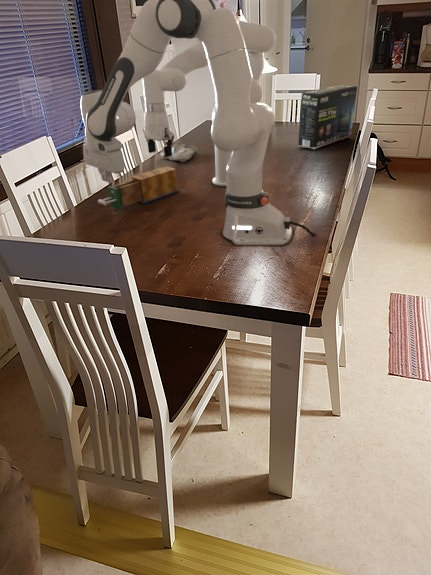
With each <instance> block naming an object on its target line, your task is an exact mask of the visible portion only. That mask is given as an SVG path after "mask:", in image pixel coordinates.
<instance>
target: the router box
mask: <svg viewBox="0 0 431 575" xmlns="http://www.w3.org/2000/svg"><path fill="white" fill-rule="evenodd" d="M357 93H358V86H356V85H350V84H339V85H338V84H337V85H334V86H328V87H324V88H318V89H314V90H309V91H304V92H301V93H300V109H299V110H300V111H299V124H298V137H297V146H298V145H302V146H307V147H317V146H320V145H323V144H325V143H328V142H331V141H333V140H336V139H338V138H341V137H344V136H347V135H351V136H352V133H353V132H352V131H353V125H354V115H355V109H356V99H357ZM311 151H313V150H312V149H311Z"/></svg>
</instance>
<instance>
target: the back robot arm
mask: <svg viewBox="0 0 431 575" xmlns="http://www.w3.org/2000/svg"><path fill="white" fill-rule="evenodd" d="M237 22H238V24H239V27H240V30H241V33H242V36H243V39H244V42H245V46H246V48H245V49H246V51H247V55H248V59H249V64H250V68H251V73H252V83H251V86H250V103H261V100H262V97H263V88H262V86H261V84H260V82H259V79H260V77H261V75H262V73H263V70H264V68H265V55H264V53H268V52H269V51H271V50H273V48H274V46H275V44H276V34H275V32H274V30H273V29H272V28H271V27H270V26H268V25H263V24H257V23H253V22H248V21H244V20H239V19H237ZM207 66H208V62H207V58H206V54H205V50H204V47H203V44H202V43H201V41H200V40H199V39H198V41H196V42H195V43H194V44H192V45H190V46H189V47H187V48H186V49H185V50H182V52H180V53H179V54H177V55H175V56H173V58H172V59H170V60H169V61H168V62H167V63H166V64H164V65H163V66H162V67H161V69H155V71H154V72H152V73H151V74H149V75H147V76H145V77H144V78H142V79H141V80H142V81H141V82H142V89H143V90H142V91H143V100H144V109H145V110H144V115H143V116H144V119H143V120H144V121H143V122H144V124H143V125H144V128H142V132H143V135H144V138H145V141H146V143H147V150H148V153H149V154H152V153H155V152H156V151H157V148H156V141H157V142H161V141H162V143H163V145H164V146H163V151H164V154H165V157H169V156H172V148H173V147H172V146H173V143H174V139H175V134H174V133H173V132H172V131H171V128H170V121H169V116H168V112H167V105H166V92H180V91H182V90H184V88H185V87H186V85H187V83H188V80H187V75H188V74H190V73H191V72H193V71H196V70H198V69H202V68H206V67H207ZM208 67H209V66H208ZM214 118H215V106H214V107H213V109H212V111H211V123H212V124H213V122H214ZM212 124H211V125H212ZM231 153H232V152H225V151H222V150H220V149H219V148H217V147H216V145H215V144H214V166H215V167H214V168H215V170H214V171H215V176H214V177H213V178H212V179H211V183H212V184H213V185H215V186H218V187H227V184H226V167H227V163H228V161H229V159H230V157H231Z"/></svg>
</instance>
